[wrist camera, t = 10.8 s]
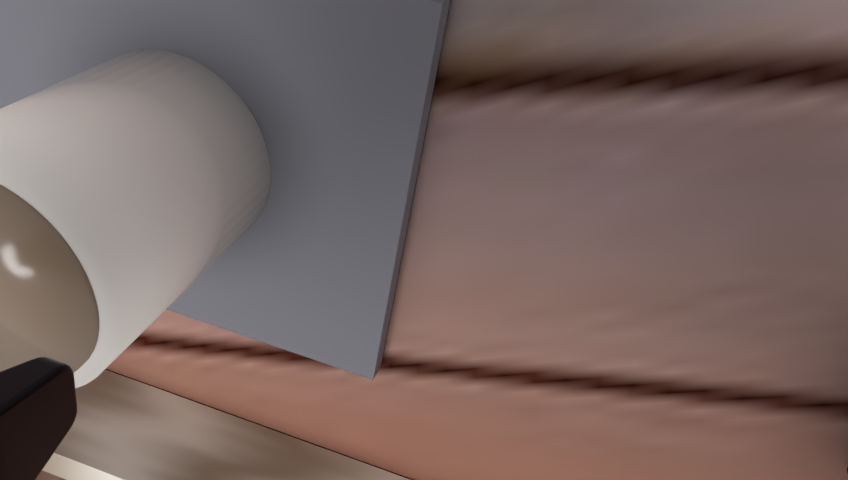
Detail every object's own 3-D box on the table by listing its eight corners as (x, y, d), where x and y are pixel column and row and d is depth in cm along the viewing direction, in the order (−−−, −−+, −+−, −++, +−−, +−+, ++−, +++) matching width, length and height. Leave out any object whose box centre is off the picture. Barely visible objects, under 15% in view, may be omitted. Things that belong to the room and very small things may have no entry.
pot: (277, 82, 20) (103, 202, 14) (264, 267, 23) (118, 429, 17) (76, 24, 20) (-169, 113, 15) (91, 210, 24) (-106, 345, 18)
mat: (451, -4, 18) (442, 3, 17) (381, 364, 24) (373, 379, 24) (-44, -131, 20) (-69, -128, 19) (11, 239, 27) (-6, 250, 26)
